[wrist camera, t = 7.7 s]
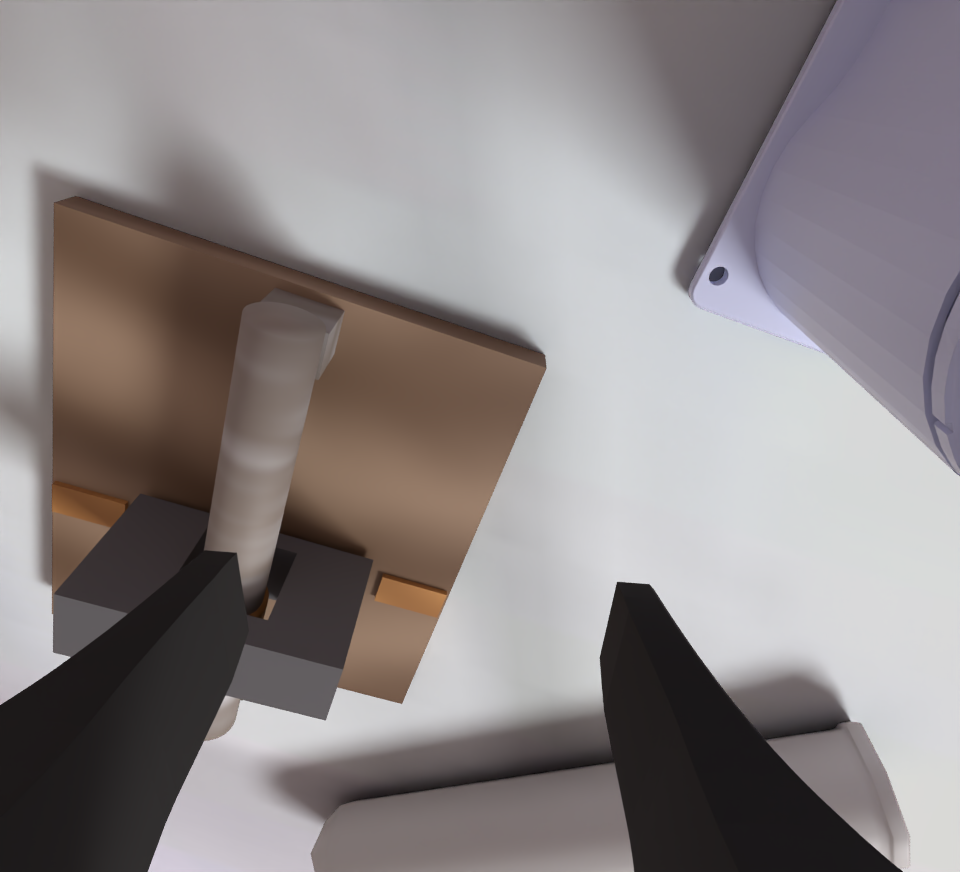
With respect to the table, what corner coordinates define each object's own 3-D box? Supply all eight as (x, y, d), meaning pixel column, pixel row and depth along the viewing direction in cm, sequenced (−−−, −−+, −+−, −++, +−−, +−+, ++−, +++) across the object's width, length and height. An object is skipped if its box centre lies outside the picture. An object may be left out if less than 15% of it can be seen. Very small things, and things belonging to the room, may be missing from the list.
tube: (341, 934, 31) (900, 877, 26) (283, 925, 27) (923, 855, 22) (351, 810, 35) (843, 739, 30) (300, 786, 31) (855, 700, 26)
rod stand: (75, 196, 18) (-50, 234, 14) (545, 354, 20) (553, 429, 16) (67, 595, 26) (-15, 694, 22) (405, 683, 28) (387, 789, 24)
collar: (140, 493, 21) (53, 594, 17) (373, 559, 22) (343, 670, 18) (135, 546, 23) (53, 652, 19) (357, 607, 24) (325, 720, 20)
